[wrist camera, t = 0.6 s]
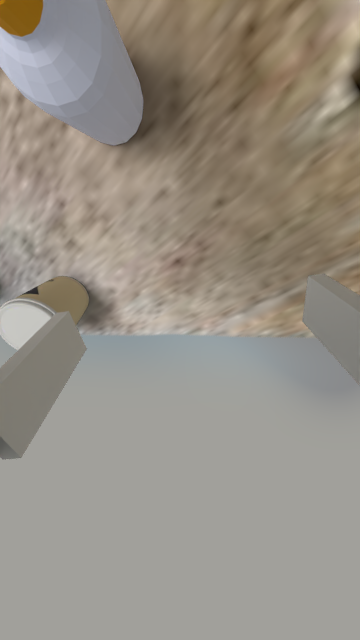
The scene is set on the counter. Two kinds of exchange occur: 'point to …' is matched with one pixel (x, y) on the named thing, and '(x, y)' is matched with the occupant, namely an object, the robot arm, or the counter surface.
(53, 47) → the soap bottle
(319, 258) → the counter surface
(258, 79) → the counter surface
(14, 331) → the white-capped cylinder
